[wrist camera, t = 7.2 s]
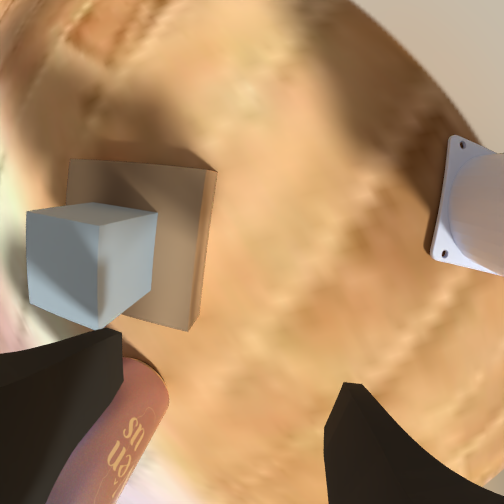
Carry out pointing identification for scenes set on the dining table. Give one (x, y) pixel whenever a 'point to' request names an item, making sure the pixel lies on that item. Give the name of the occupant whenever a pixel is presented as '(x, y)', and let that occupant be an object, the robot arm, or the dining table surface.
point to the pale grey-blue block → (89, 260)
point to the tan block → (158, 227)
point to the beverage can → (114, 440)
